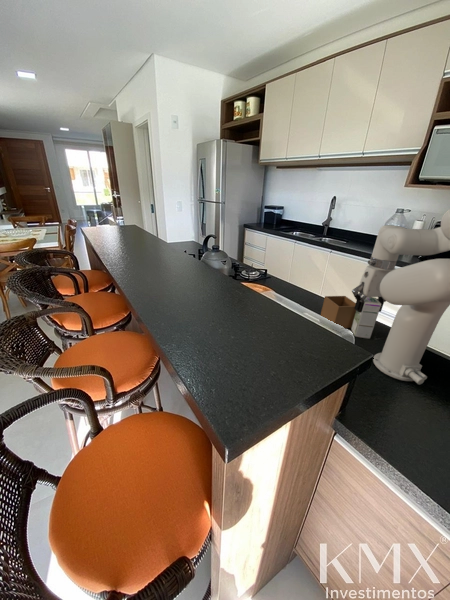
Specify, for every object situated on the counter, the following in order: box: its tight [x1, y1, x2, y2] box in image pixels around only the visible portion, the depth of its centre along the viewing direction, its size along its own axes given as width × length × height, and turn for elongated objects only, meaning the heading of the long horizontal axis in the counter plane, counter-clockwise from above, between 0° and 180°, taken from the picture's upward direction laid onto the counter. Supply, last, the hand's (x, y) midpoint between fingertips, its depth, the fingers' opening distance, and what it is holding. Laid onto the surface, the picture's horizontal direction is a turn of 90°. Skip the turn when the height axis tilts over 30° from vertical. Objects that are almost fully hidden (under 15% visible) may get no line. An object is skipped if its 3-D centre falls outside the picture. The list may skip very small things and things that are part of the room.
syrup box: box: [350, 295, 381, 340], centre depth 92 cm, size 6×6×14 cm
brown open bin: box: [320, 295, 356, 329], centre depth 101 cm, size 10×9×10 cm
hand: (367, 310), depth 91 cm, fingers closed on syrup box, 7 cm apart
